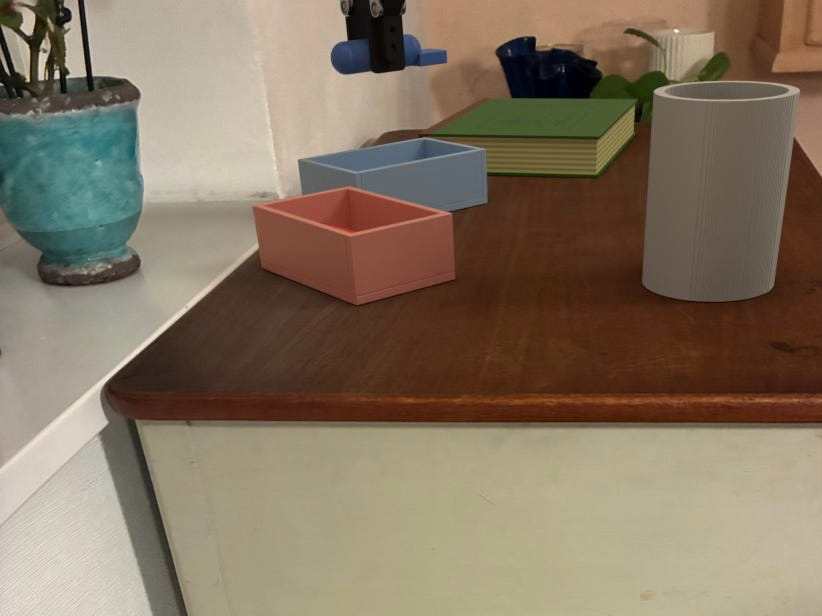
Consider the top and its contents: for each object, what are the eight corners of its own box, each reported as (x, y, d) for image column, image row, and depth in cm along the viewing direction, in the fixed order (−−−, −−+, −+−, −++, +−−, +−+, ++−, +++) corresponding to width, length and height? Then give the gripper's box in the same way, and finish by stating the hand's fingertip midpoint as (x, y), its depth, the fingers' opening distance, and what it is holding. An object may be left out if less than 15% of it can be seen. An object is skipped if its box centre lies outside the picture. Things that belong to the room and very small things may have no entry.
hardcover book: (483, 132, 124) (482, 98, 122) (635, 134, 120) (637, 99, 118) (418, 174, 105) (415, 135, 103) (596, 179, 100) (597, 137, 98)
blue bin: (360, 231, 86) (354, 173, 84) (304, 214, 92) (297, 159, 90) (487, 203, 94) (486, 148, 91) (428, 188, 100) (425, 137, 97)
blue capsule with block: (343, 77, 83) (339, 43, 82) (326, 75, 85) (322, 42, 83) (447, 63, 88) (446, 31, 87) (429, 61, 90) (427, 29, 89)
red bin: (261, 268, 78) (251, 205, 75) (355, 246, 82) (349, 185, 80) (356, 305, 70) (349, 236, 67) (455, 279, 74) (452, 213, 71)
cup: (621, 291, 70) (631, 97, 63) (671, 258, 77) (685, 78, 70) (748, 308, 66) (773, 104, 60) (790, 272, 73) (817, 83, 66)
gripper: (256, -202, 79) (291, 68, 89) (374, -226, 68) (397, 82, 79) (337, -200, 82) (361, 59, 93) (460, -223, 72) (471, 72, 83)
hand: (377, 68), depth 86 cm, fingers closed on blue capsule with block, 2 cm apart
